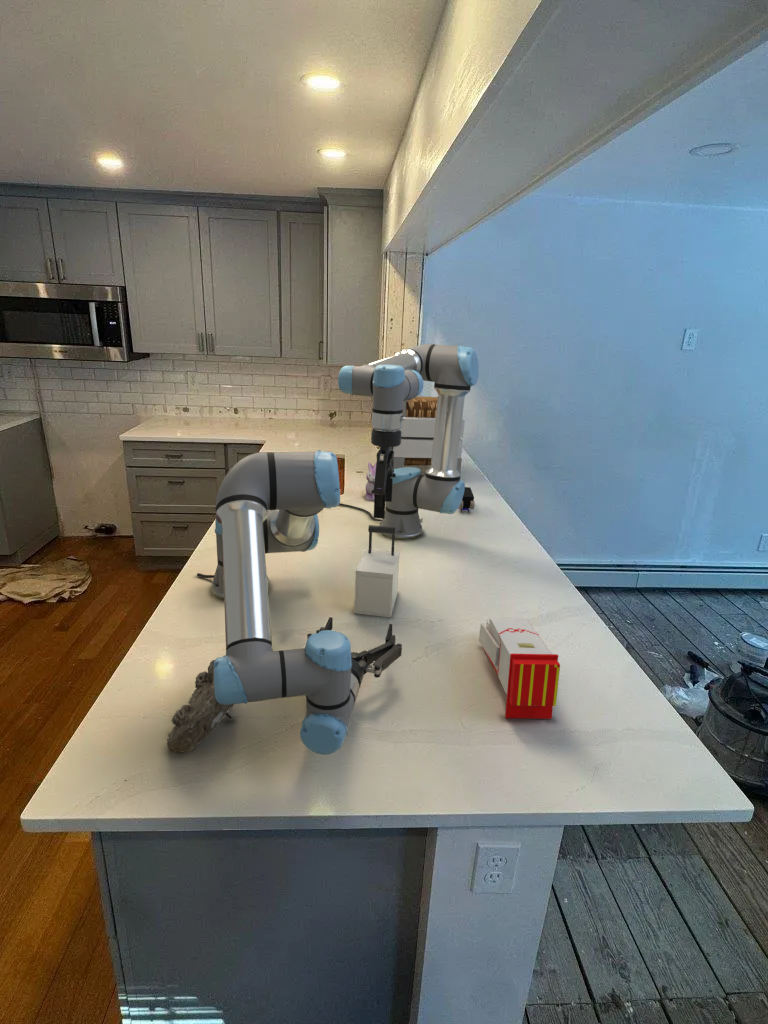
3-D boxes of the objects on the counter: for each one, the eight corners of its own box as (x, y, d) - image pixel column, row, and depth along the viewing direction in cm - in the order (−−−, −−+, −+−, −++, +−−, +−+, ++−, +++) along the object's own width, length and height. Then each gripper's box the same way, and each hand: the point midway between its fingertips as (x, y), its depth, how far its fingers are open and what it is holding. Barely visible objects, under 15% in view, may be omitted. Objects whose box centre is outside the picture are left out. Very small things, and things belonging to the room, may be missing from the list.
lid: (365, 553, 156) (366, 521, 153) (399, 556, 155) (401, 524, 152) (355, 575, 143) (356, 541, 140) (392, 579, 142) (394, 544, 139)
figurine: (369, 502, 230) (370, 466, 225) (359, 494, 239) (360, 460, 234) (390, 499, 234) (391, 464, 229) (378, 492, 243) (380, 458, 238)
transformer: (382, 463, 289) (386, 382, 275) (445, 464, 293) (451, 384, 279) (390, 482, 257) (394, 392, 243) (460, 483, 261) (468, 394, 247)
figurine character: (474, 518, 222) (469, 501, 235) (476, 500, 218) (471, 485, 232) (457, 517, 222) (452, 501, 235) (459, 500, 218) (454, 484, 232)
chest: (363, 589, 159) (364, 554, 156) (397, 593, 158) (399, 557, 154) (354, 613, 147) (355, 575, 143) (390, 617, 146) (392, 579, 142)
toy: (525, 603, 136) (569, 660, 107) (520, 654, 139) (562, 725, 109) (475, 601, 135) (505, 659, 106) (471, 653, 138) (499, 724, 109)
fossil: (192, 660, 117) (244, 628, 112) (224, 691, 120) (276, 661, 115) (142, 746, 98) (202, 712, 93) (182, 779, 101) (242, 748, 96)
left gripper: (276, 692, 110) (306, 634, 129) (405, 708, 107) (415, 646, 126) (276, 658, 107) (306, 605, 127) (407, 674, 104) (417, 617, 124)
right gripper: (395, 440, 129) (390, 527, 137) (406, 421, 153) (402, 495, 160) (362, 438, 130) (360, 524, 137) (379, 419, 154) (376, 493, 161)
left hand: (360, 625), depth 127 cm, fingers open, 13 cm apart
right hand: (383, 509), depth 149 cm, fingers open, 13 cm apart
